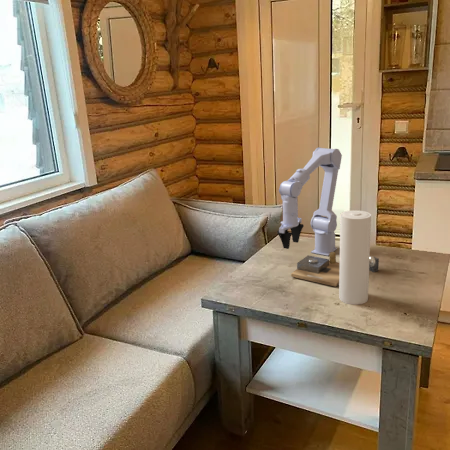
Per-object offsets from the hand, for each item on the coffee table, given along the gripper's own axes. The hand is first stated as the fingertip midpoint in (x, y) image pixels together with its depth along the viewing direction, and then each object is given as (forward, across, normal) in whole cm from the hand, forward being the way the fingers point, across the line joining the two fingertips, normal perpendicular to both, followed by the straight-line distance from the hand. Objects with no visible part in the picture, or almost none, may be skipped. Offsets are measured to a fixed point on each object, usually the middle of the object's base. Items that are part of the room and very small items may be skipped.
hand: (291, 245), depth 179 cm
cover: (+8, 0, +10) cm, 12 cm away
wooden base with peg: (+9, 0, +14) cm, 17 cm away
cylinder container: (+10, +13, +31) cm, 35 cm away
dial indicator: (+9, -12, +29) cm, 33 cm away
